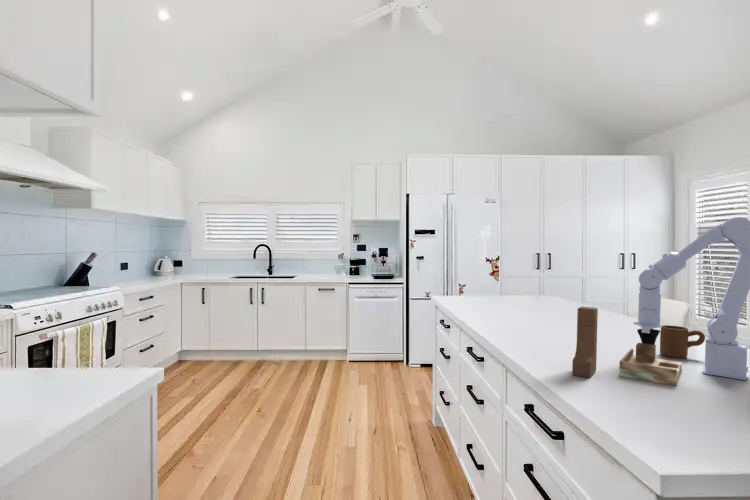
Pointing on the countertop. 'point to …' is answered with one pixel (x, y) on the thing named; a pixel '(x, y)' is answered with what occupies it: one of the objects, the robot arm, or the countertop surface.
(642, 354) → the walnut block
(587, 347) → the wooden block
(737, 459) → the countertop surface
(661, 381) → the platform
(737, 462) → the countertop surface
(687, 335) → the mug
